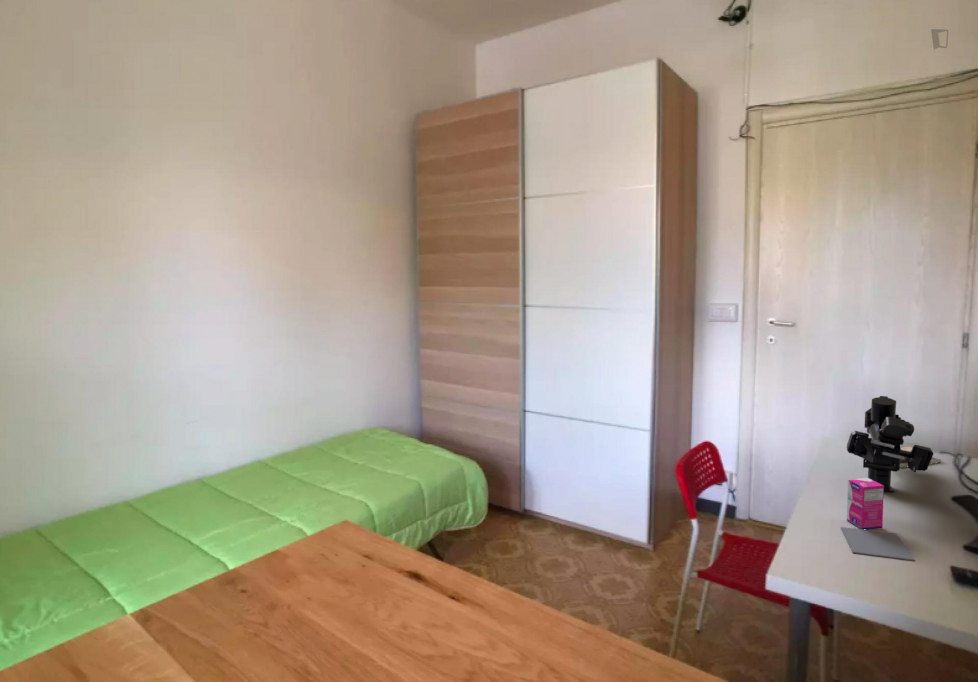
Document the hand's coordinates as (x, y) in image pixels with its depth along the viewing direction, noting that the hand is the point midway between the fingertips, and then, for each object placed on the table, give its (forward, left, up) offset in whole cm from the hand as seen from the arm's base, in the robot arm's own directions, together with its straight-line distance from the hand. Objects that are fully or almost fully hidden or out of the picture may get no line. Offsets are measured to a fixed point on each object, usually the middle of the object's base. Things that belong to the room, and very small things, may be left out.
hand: (894, 465), depth 149 cm
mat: (+16, -7, -15) cm, 23 cm away
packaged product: (-55, +18, -15) cm, 60 cm away
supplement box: (+5, -7, -15) cm, 17 cm away
